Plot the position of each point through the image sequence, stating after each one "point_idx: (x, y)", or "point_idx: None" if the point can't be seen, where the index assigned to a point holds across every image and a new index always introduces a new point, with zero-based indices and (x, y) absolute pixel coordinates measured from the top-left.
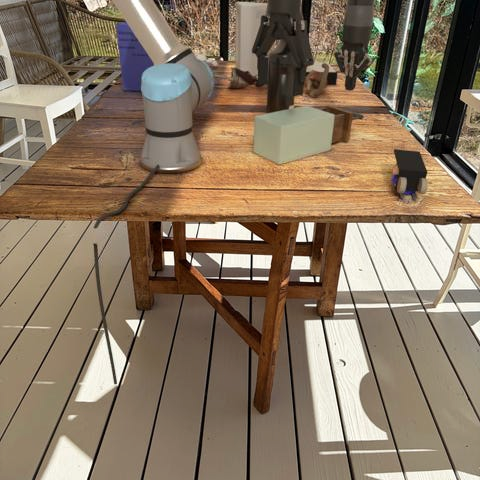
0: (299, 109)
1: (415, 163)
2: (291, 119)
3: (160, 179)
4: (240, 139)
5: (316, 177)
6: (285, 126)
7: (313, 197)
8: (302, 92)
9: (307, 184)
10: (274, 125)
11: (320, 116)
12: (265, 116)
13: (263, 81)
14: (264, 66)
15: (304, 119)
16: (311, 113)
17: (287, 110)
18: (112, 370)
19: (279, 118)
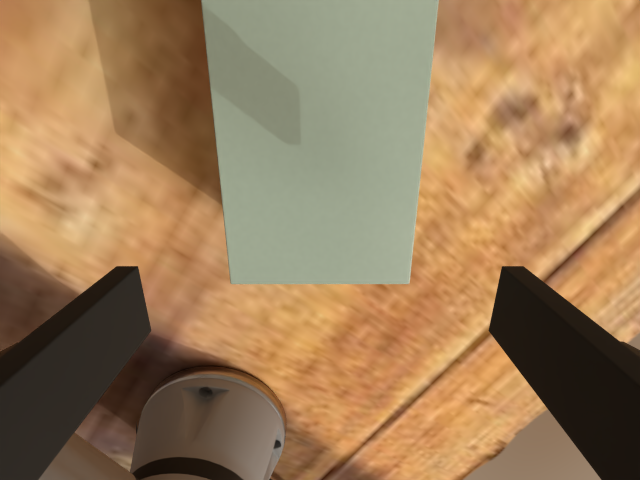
0: (244, 9)
1: None
2: (360, 182)
3: (288, 465)
4: (131, 192)
5: (517, 204)
6: (410, 262)
7: (580, 291)
8: (530, 277)
9: (526, 254)
10: (365, 281)
11: (419, 4)
12: (258, 250)
13: (135, 310)
14: (56, 386)
15: (400, 128)
16: (345, 6)
17: (227, 90)
18: None
19: (316, 218)
